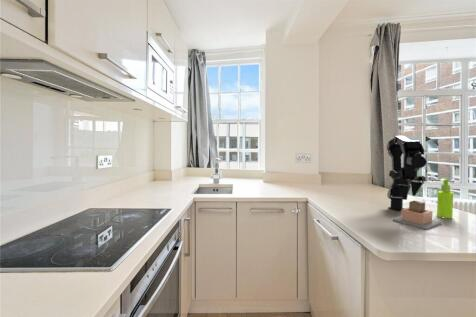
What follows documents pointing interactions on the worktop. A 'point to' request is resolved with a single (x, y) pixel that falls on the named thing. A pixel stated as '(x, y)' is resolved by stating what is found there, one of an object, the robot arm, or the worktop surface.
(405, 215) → the terracotta well
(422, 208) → the walnut block
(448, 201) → the soap dispenser
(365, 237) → the worktop surface
